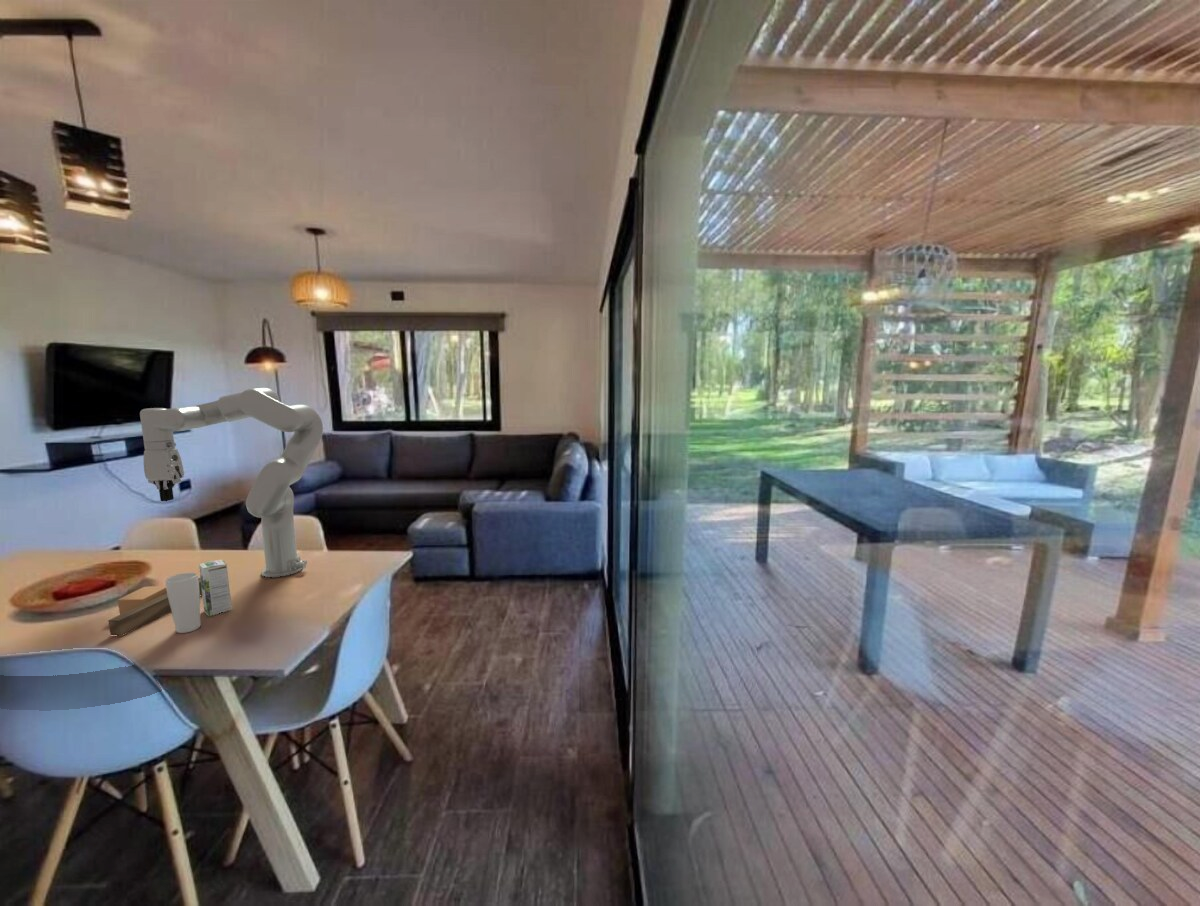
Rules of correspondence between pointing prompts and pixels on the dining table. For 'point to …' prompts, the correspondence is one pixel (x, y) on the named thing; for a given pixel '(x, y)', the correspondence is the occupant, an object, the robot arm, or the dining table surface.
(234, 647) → the dining table surface
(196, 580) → the drinking glass
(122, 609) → the tan block
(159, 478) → the robot arm
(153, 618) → the walnut board
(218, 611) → the syrup box
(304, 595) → the dining table surface
